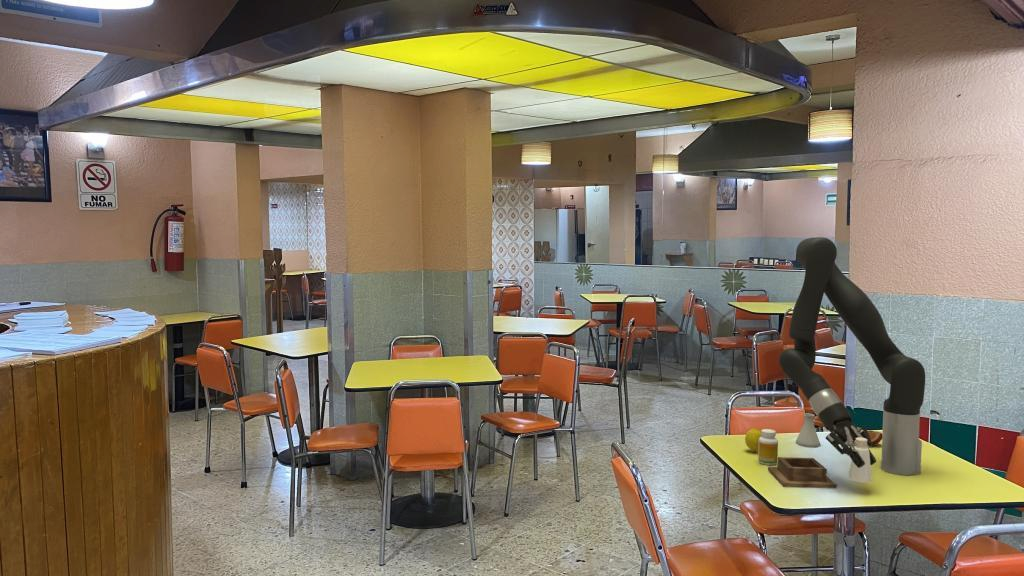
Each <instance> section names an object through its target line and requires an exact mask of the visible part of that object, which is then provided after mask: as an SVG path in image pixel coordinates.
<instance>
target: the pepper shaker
mask: <svg viewBox="0 0 1024 576" xmlns="http://www.w3.org/2000/svg"><path fill="white" fill-rule="evenodd" d="M855 442H856V446H855V449H856V451H857V452H858V453H859V455H860V456H861V458H862V459H863V461H864V462H865V465H863V466H862V467H860V468H858V467H857V466H856V465H855V464H854V462H853V461H852V459H850V461H851V463H850V469H849V474H848V475H849V476H848V477H849V479H850V480H851V481H854V482H857V483H862V484H863V483H864V484H865V483H867V484H868V483H870V482H872V481H873V479H872V467H871V466H872V465H870V454H869V450H870V448H869V449H868V448H867V439H866V438H862V437H858V438H856V440H855ZM856 451H855V452H856Z"/></svg>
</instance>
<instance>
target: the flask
mask: <svg viewBox="0 0 1024 576" xmlns="http://www.w3.org/2000/svg"><path fill="white" fill-rule="evenodd" d="M815 416H816V414H814V413H809V412H808V413H806V412H805V413H803V417H804V418H803V424H802V427H801V429H800V432H799V434H798V435H797V438H796V440H795V443H796V445H799V446H802V447H806V448H817V447H821V441H820V438H819V436H818V434H817V433H818V432H817V431H816V430H817V429H816V427H815V422H814V420H815V419H814V418H815Z"/></svg>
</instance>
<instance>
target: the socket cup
mask: <svg viewBox="0 0 1024 576" xmlns="http://www.w3.org/2000/svg"><path fill="white" fill-rule="evenodd" d="M767 471H768V472H769V473H770V474H771V475H772V477H773V478H775V479H776V481H777V480H778V481H779V482H780V483H779V482H778V481H777V482H778V483H779V484H780V485H781V486H782V487H783V488H814V489H819V488H820V489H837V488H838V484H837V483H836V482H835V481H834V480H833V479H831V478H830V477H829V476H828V475H827V474H828V473H827V471H828V469H827V468H826V467H825V466H824V465H822V464H821V463H820V462H819V461H818V460H816V458H814V457H793V456H792V457H787V456H778V458H777V466H767Z"/></svg>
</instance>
